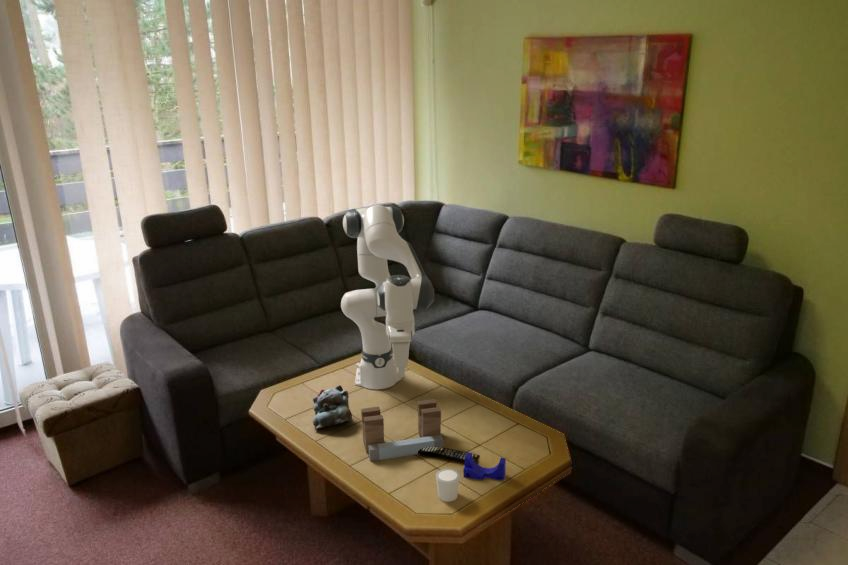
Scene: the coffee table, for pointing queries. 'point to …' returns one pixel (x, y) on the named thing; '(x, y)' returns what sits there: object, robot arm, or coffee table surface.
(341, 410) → the lucky cat figurine
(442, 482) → the shot glass
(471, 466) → the cable clip
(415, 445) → the bed rail
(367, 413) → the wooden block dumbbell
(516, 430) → the coffee table surface
